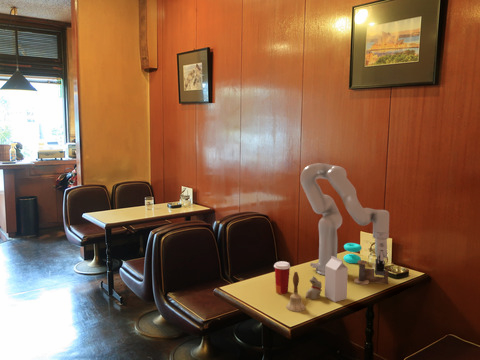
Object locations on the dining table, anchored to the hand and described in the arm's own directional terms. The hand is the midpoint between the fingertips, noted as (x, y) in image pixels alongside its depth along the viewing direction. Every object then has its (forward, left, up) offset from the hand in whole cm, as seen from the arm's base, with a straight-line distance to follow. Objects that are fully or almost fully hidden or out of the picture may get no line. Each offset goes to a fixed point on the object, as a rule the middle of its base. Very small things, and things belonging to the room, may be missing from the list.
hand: (379, 269), depth 196 cm
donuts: (-12, +29, -7) cm, 32 cm away
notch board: (-3, 0, -6) cm, 7 cm away
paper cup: (-47, -24, -7) cm, 53 cm away
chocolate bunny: (-32, -26, -7) cm, 42 cm away
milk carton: (-22, -25, -7) cm, 34 cm away
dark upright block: (0, 0, -3) cm, 3 cm away
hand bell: (-39, -39, -7) cm, 55 cm away
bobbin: (-9, -3, -6) cm, 11 cm away
